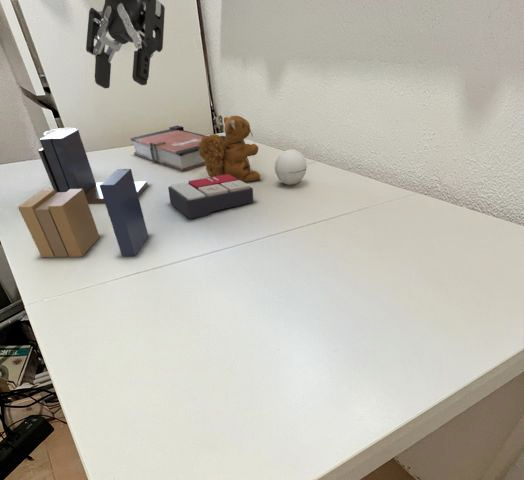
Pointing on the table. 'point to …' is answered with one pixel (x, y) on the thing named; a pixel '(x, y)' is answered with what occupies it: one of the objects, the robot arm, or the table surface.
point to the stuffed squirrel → (230, 151)
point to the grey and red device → (209, 195)
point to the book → (171, 148)
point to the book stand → (72, 165)
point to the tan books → (60, 223)
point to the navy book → (124, 211)
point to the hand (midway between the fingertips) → (120, 84)
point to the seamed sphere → (290, 167)
